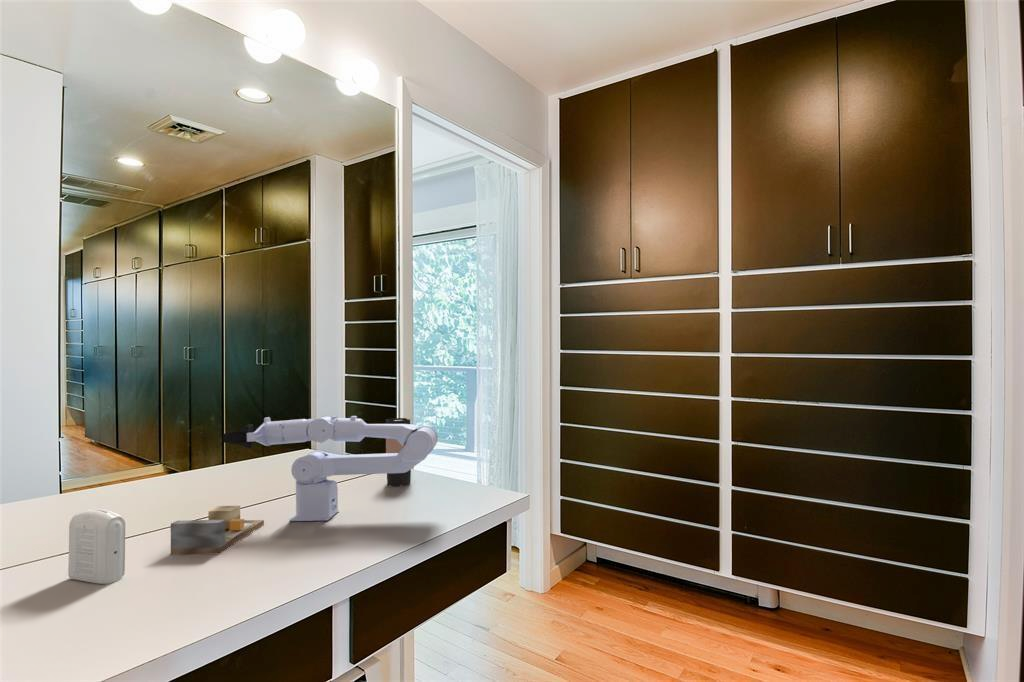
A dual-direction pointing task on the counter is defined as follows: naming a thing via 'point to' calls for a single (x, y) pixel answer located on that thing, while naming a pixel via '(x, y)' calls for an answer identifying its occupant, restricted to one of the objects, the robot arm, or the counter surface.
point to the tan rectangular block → (224, 514)
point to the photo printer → (97, 546)
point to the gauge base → (207, 535)
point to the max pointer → (237, 524)
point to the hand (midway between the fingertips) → (232, 436)
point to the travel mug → (396, 447)
